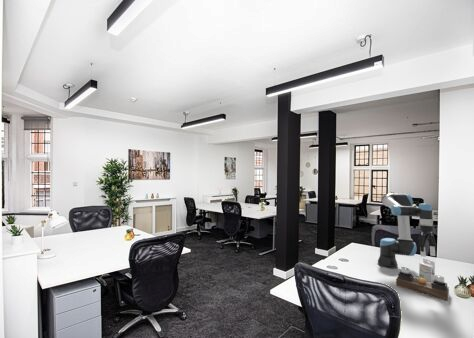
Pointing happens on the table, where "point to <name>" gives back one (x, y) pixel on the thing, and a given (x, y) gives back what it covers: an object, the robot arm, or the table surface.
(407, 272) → the knob
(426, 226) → the robot arm
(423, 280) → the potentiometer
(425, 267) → the ink box
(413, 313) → the table surface
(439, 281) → the knob
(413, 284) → the brown long low box
